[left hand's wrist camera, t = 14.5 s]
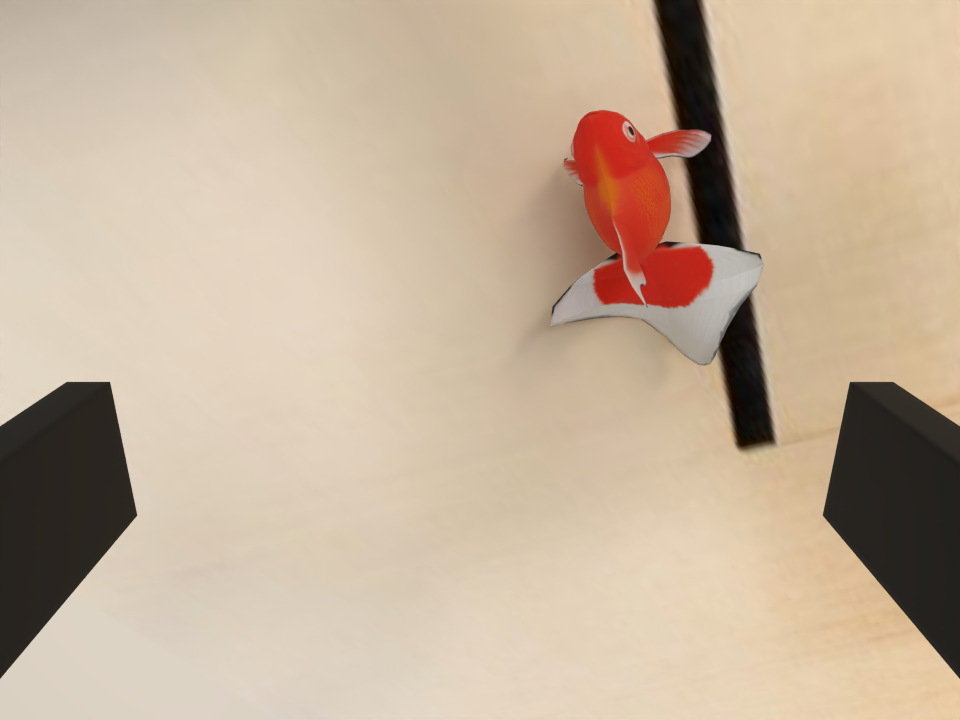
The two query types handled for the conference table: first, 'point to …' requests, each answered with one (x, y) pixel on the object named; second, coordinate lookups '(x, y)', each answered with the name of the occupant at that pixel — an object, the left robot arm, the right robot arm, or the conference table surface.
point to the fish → (650, 241)
